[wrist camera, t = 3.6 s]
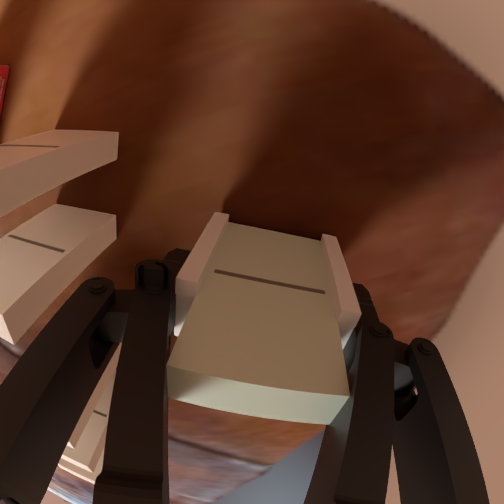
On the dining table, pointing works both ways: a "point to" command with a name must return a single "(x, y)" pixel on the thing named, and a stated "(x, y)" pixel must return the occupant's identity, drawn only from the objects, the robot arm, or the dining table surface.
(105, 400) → the domino
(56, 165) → the domino
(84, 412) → the domino
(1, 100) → the ink box
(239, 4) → the dining table surface
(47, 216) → the domino
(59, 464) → the domino
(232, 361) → the sage domino
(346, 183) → the dining table surface
